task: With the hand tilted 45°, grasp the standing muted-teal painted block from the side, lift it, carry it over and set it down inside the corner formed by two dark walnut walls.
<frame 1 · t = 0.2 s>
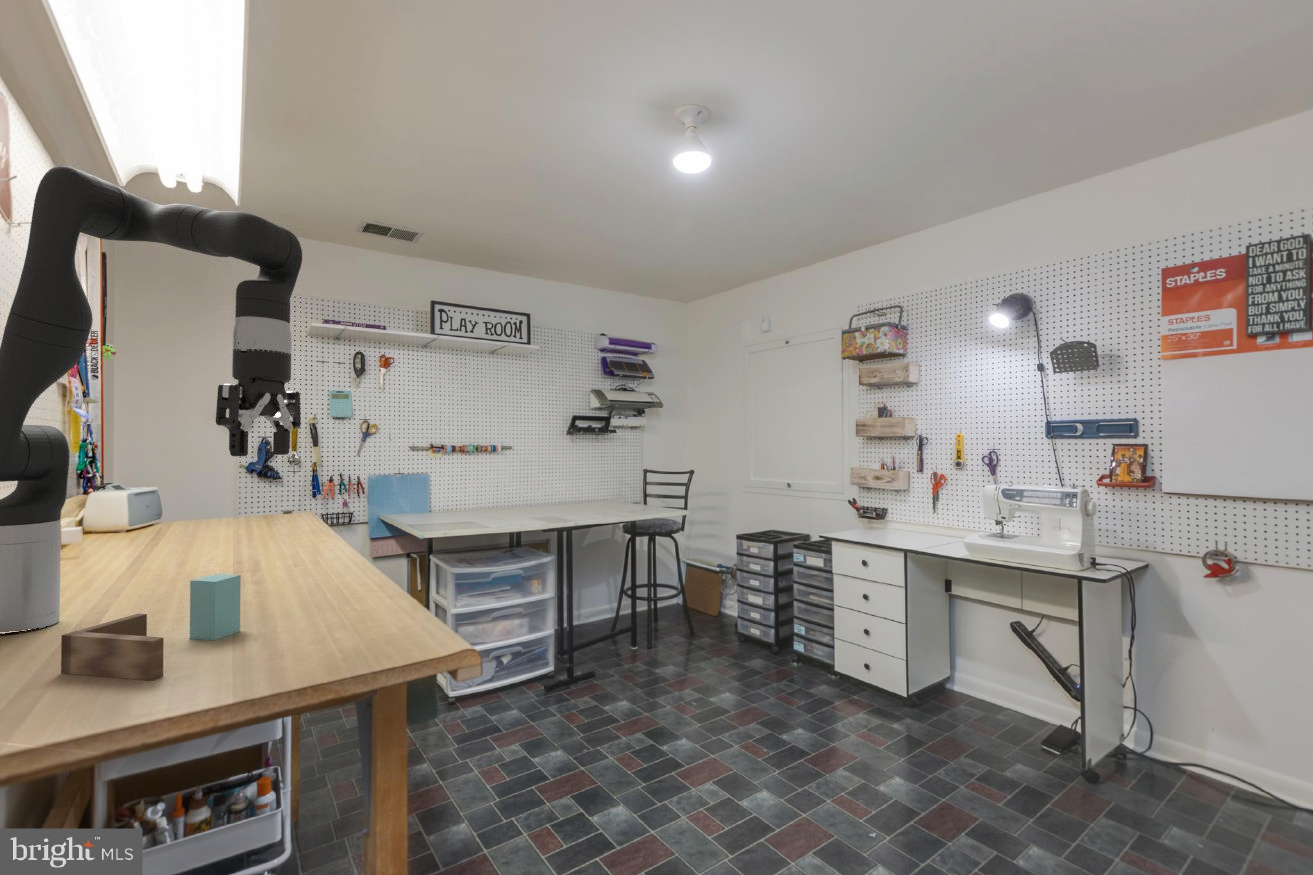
hand: (260, 455, 90), 28 cm above the table, tool pointing down, fingers open, 8 cm apart
walnut corner: (143, 663, 81), on the table
teal block: (215, 634, 93), on the table
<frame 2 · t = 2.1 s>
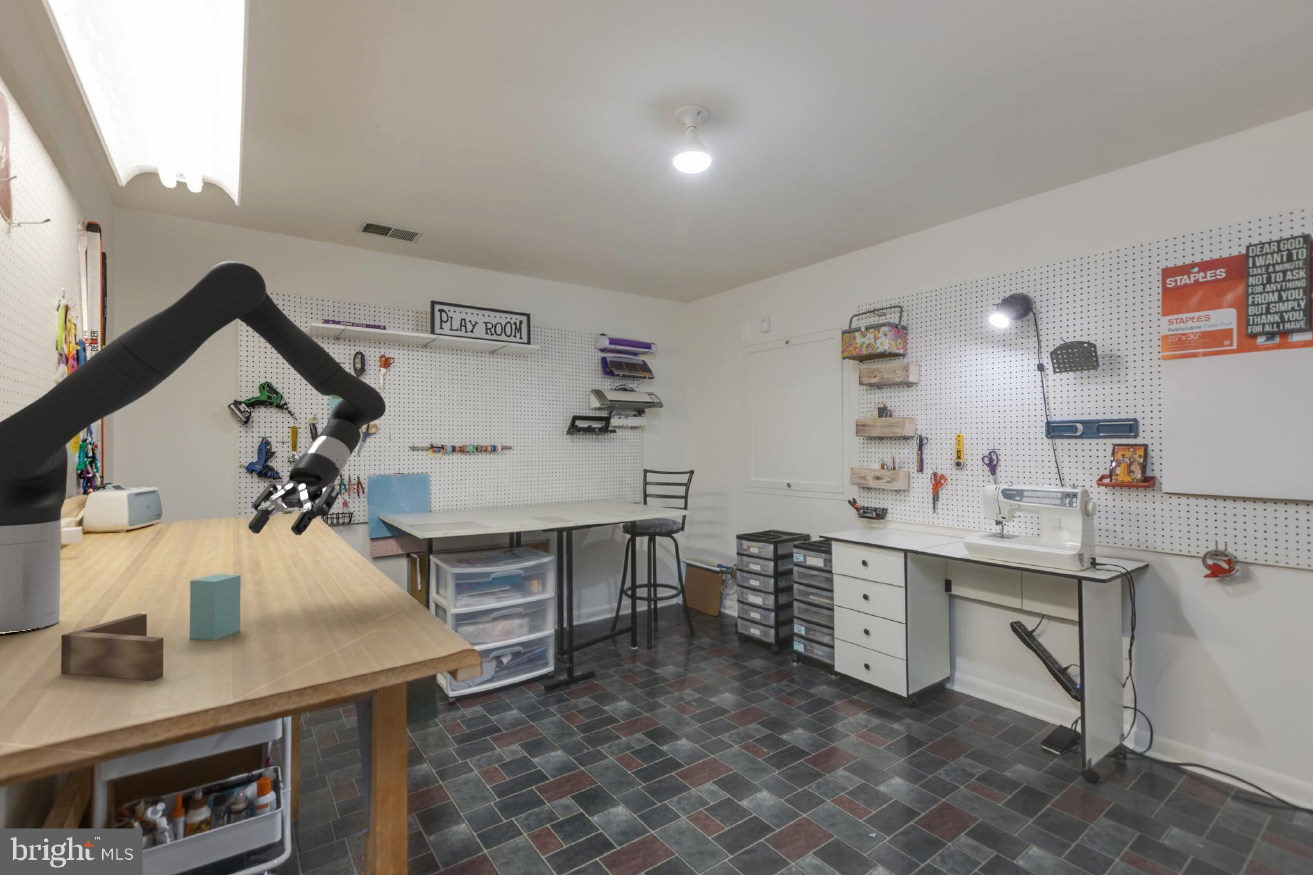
hand: (274, 531, 104), 15 cm above the table, tool tilted 45°, fingers open, 8 cm apart
nothing on the table moved.
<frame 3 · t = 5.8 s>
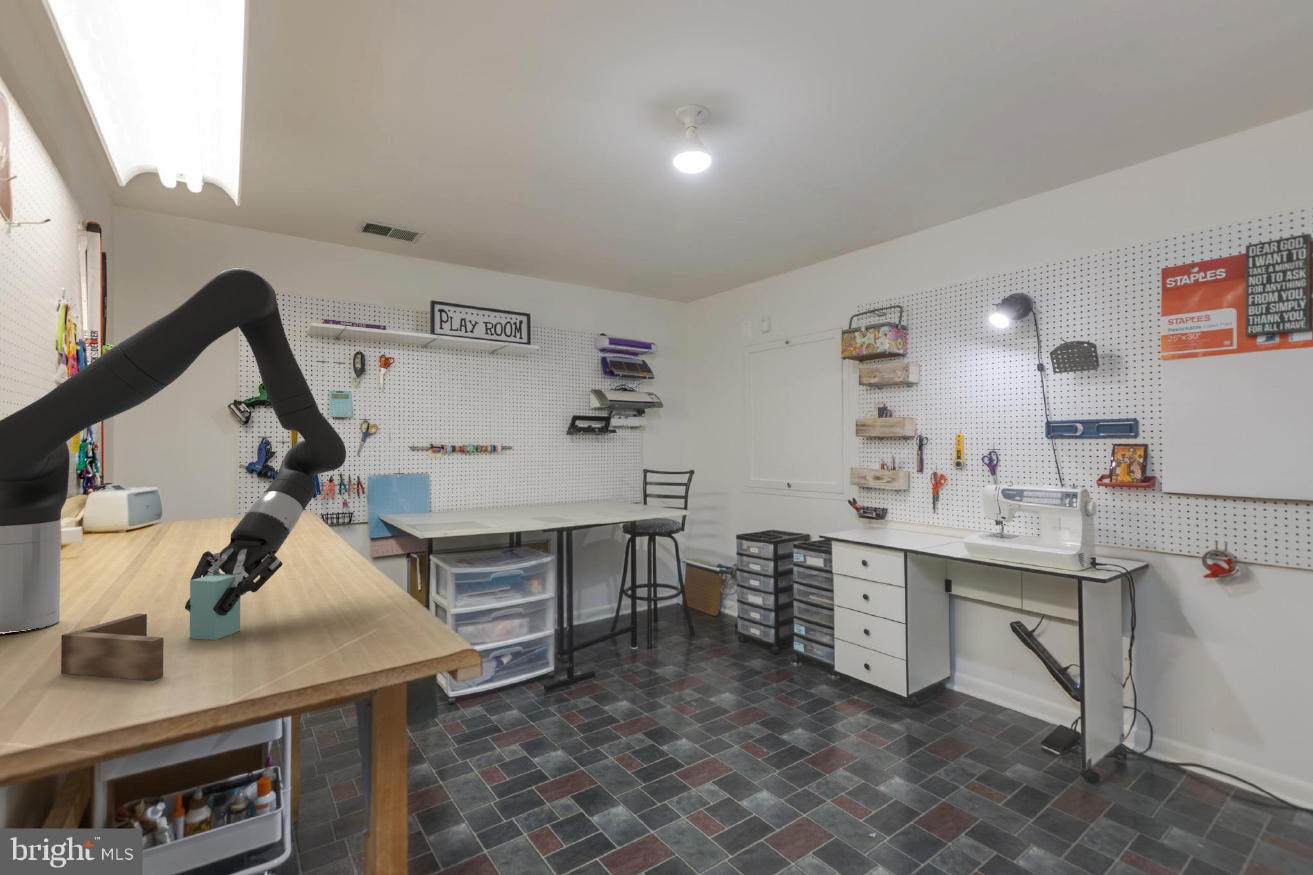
hand: (204, 611, 91), 4 cm above the table, tool tilted 45°, fingers closed on teal block, 4 cm apart
teal block: (215, 634, 93), on the table, touching gripper
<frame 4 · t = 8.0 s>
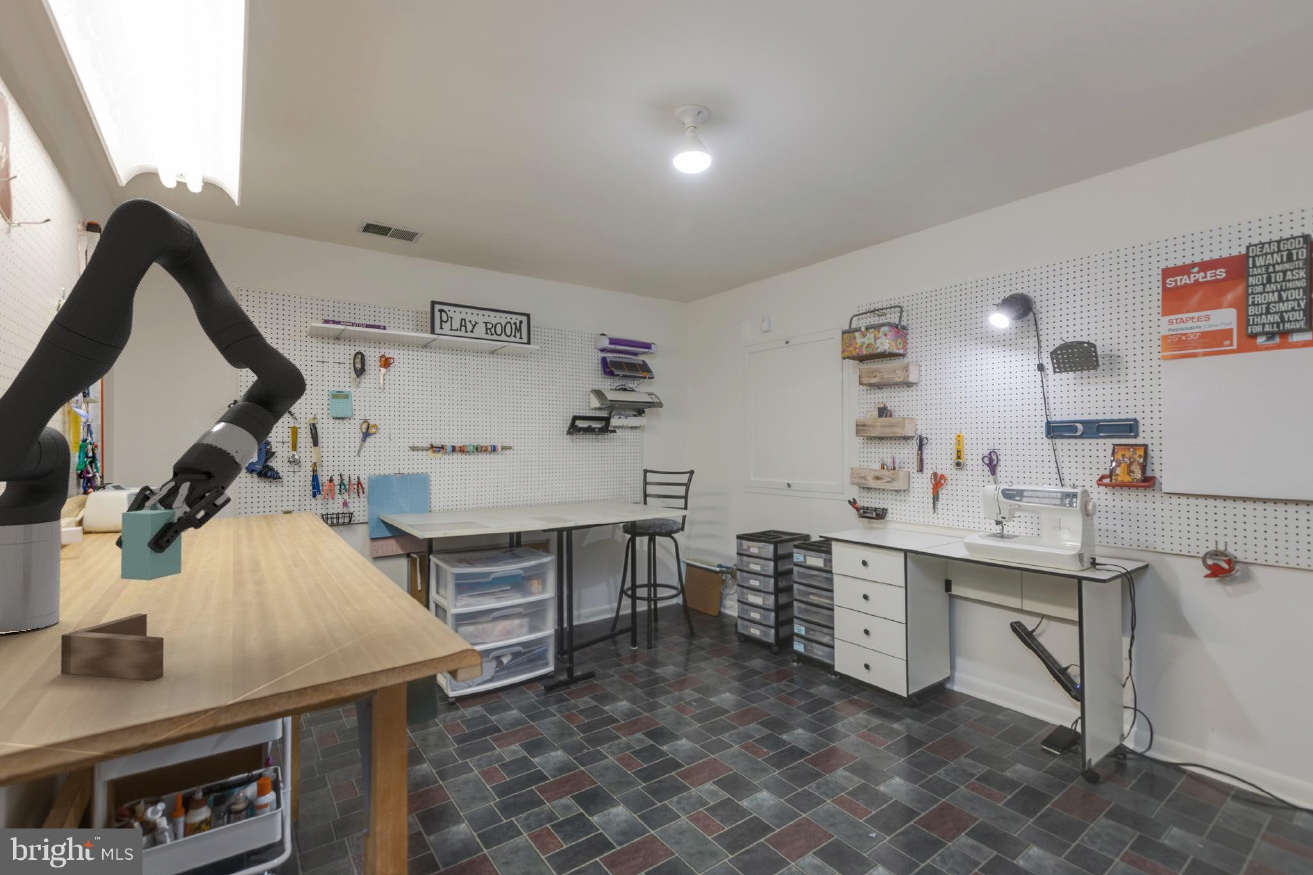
hand: (138, 548, 80), 16 cm above the table, tool tilted 45°, fingers closed on teal block, 4 cm apart
teal block: (151, 575, 82), point 12 cm above the table, touching gripper
when the fingers open (6 cm above the table, at t = 10.5 s): teal block drops 1 cm, on the table.
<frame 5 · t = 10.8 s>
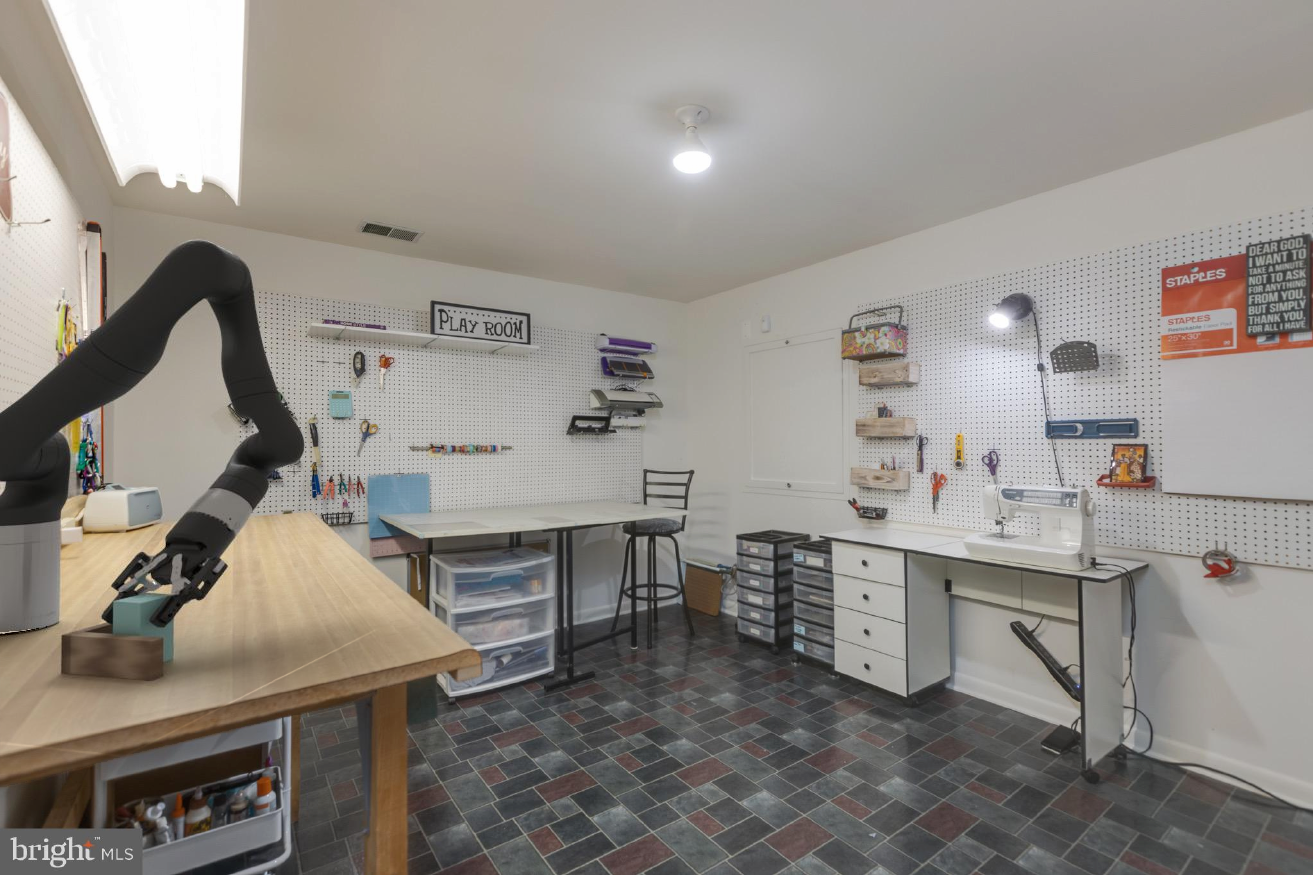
hand: (132, 622, 79), 6 cm above the table, tool tilted 45°, fingers open, 7 cm apart
teal block: (143, 663, 81), on the table
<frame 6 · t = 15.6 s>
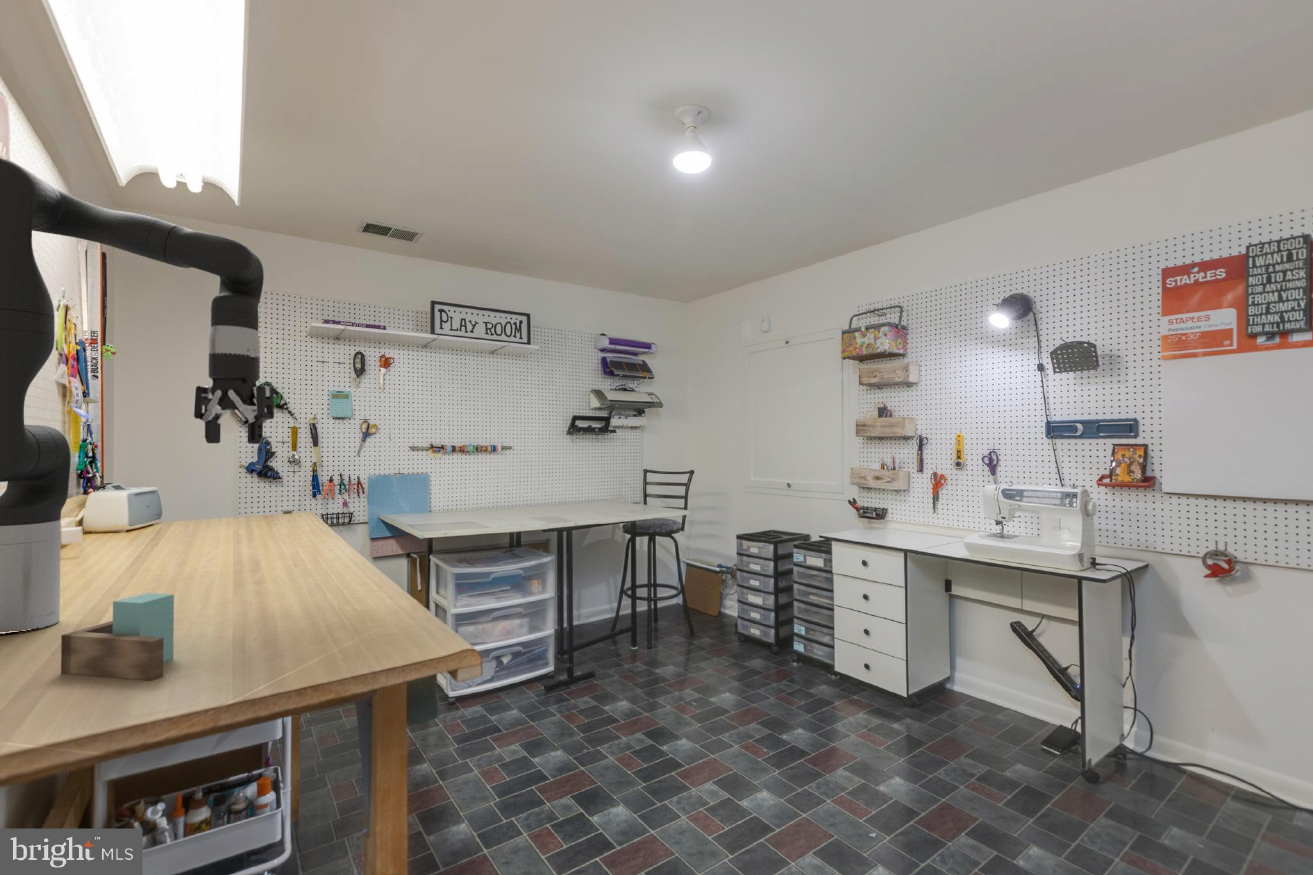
hand: (233, 443, 106), 30 cm above the table, tool pointing down, fingers open, 8 cm apart
nothing on the table moved.
at the end: teal block inside the target area (0.5 cm from its centre), on the table; teal block tilted 0°; the gripper is holding nothing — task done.
